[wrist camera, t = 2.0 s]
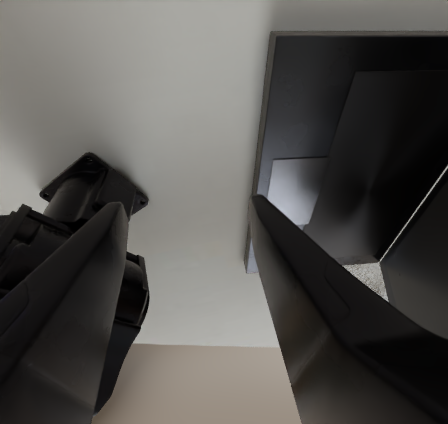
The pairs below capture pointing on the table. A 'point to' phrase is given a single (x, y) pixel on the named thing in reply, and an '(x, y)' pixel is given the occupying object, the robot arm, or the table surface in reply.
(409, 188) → the laptop
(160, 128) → the table surface
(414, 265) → the laptop screen
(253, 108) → the table surface
